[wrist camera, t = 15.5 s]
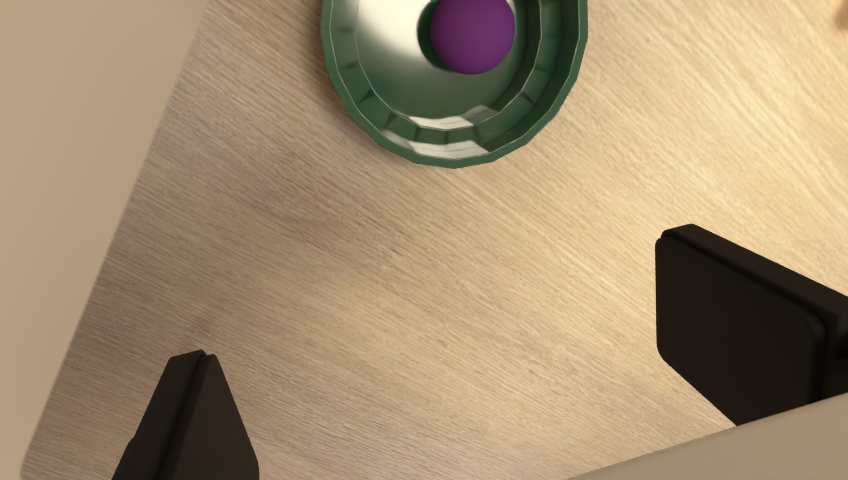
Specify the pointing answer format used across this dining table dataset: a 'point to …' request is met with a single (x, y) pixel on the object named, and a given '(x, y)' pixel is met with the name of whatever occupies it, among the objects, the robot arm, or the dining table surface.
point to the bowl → (450, 78)
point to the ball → (472, 34)
